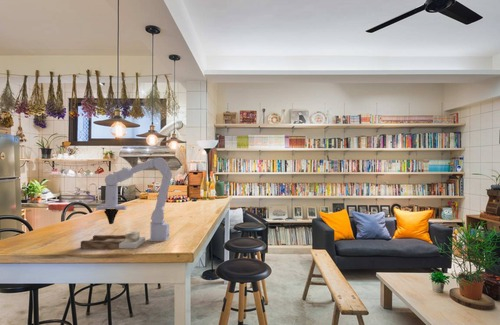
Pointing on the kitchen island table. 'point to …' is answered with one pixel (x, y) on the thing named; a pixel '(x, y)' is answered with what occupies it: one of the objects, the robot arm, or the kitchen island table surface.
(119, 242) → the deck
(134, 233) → the cube
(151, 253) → the kitchen island table surface
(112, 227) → the kitchen island table surface
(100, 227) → the kitchen island table surface
